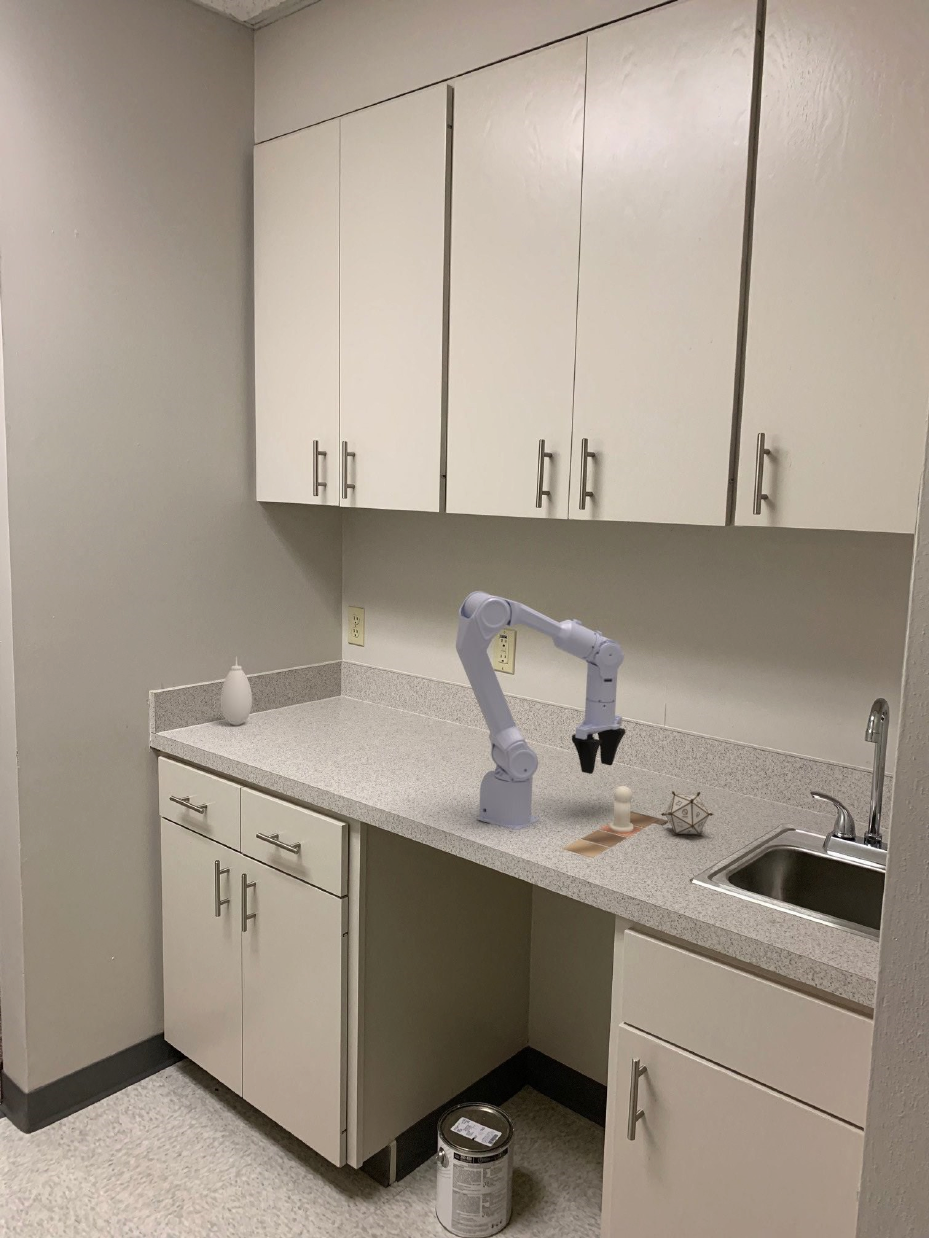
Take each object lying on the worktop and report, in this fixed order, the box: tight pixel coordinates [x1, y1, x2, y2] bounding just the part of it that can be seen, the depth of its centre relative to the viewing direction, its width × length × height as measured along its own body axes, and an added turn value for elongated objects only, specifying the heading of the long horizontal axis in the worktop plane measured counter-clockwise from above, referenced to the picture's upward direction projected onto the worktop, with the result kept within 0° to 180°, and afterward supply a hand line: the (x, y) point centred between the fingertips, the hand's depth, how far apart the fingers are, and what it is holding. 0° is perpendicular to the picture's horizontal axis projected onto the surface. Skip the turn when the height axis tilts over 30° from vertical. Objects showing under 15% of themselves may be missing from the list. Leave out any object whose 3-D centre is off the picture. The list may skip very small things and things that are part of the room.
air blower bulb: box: [220, 656, 253, 726], centre depth 243 cm, size 8×8×18 cm
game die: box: [660, 790, 714, 837], centre depth 173 cm, size 9×8×10 cm
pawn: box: [608, 785, 634, 833], centre depth 174 cm, size 4×4×8 cm
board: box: [562, 810, 669, 859], centre depth 172 cm, size 9×28×1 cm, turn 143°
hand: (597, 768), depth 182 cm, fingers open, 7 cm apart
